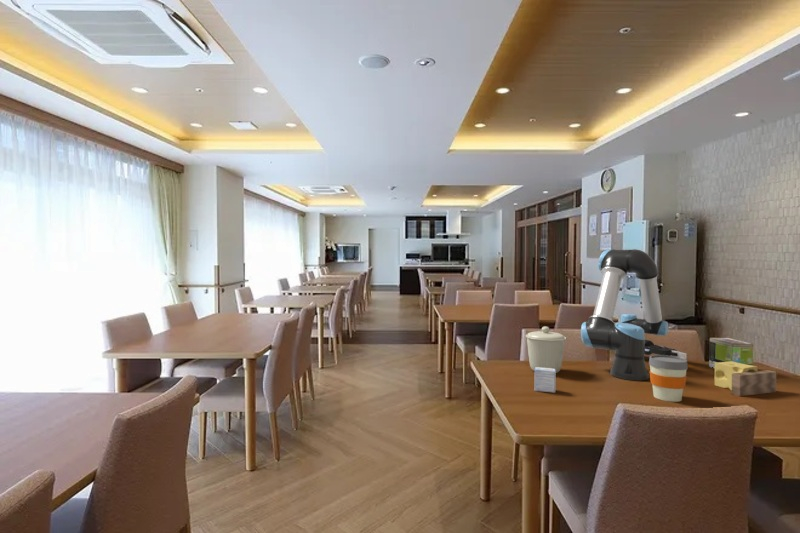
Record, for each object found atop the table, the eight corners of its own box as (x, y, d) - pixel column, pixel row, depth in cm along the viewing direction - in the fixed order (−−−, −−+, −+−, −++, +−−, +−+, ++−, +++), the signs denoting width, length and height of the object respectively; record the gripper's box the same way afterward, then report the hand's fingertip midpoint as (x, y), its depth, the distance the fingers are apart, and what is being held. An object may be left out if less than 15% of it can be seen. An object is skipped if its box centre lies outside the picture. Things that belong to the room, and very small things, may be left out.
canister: (547, 378, 184) (547, 331, 183) (516, 369, 200) (517, 325, 199) (574, 373, 193) (574, 327, 192) (543, 364, 208) (543, 322, 208)
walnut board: (739, 396, 161) (739, 375, 161) (731, 393, 164) (731, 373, 164) (776, 391, 167) (776, 372, 167) (767, 389, 170) (767, 370, 170)
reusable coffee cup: (648, 390, 168) (648, 353, 167) (685, 396, 161) (686, 357, 161) (648, 399, 157) (648, 359, 157) (688, 405, 150) (689, 364, 150)
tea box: (753, 375, 192) (754, 343, 192) (731, 375, 192) (732, 343, 192) (728, 366, 207) (729, 337, 207) (708, 366, 207) (708, 337, 207)
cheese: (739, 393, 166) (739, 368, 165) (712, 385, 176) (712, 361, 176) (758, 391, 168) (758, 366, 168) (730, 383, 179) (731, 360, 179)
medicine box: (555, 389, 168) (555, 368, 168) (555, 393, 164) (555, 371, 163) (534, 387, 170) (534, 366, 170) (534, 391, 166) (534, 369, 166)
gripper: (652, 353, 219) (695, 363, 197) (632, 354, 216) (674, 365, 193) (652, 338, 219) (696, 347, 197) (633, 339, 216) (674, 348, 193)
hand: (685, 356), depth 195 cm, fingers closed
